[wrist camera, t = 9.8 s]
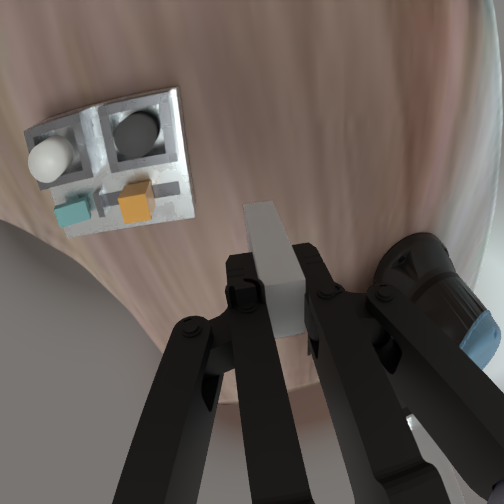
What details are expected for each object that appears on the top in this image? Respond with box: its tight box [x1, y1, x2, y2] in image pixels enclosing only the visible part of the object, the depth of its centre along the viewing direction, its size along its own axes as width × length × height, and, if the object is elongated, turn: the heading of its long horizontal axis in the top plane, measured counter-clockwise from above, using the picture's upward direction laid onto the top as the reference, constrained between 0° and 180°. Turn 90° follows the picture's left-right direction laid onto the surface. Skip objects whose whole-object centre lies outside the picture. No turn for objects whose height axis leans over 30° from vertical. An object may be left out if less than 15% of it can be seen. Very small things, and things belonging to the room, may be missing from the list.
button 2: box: [114, 111, 160, 157], centre depth 28 cm, size 4×4×3 cm
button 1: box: [28, 135, 74, 183], centre depth 25 cm, size 4×4×3 cm
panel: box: [24, 86, 196, 238], centre depth 32 cm, size 15×17×7 cm
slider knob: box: [118, 181, 156, 224], centre depth 32 cm, size 3×3×4 cm
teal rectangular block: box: [54, 197, 92, 228], centre depth 32 cm, size 2×4×1 cm, turn 94°
